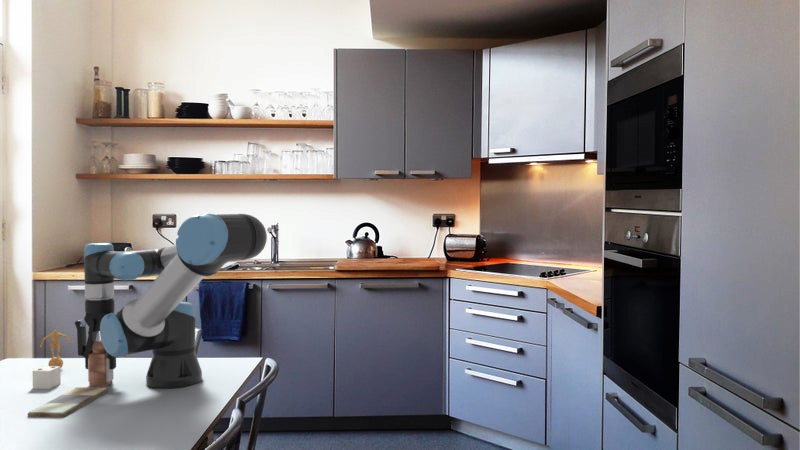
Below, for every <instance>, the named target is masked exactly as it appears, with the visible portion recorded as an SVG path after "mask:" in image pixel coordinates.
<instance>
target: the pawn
mask: <svg viewBox="0 0 800 450" xmlns="http://www.w3.org/2000/svg"><path fill="white" fill-rule="evenodd" d="M92 349H93V353H91V354H89V383H88V386H89V387H88V388H106V387H107V386H109V385H111V384H112V383H113V380H111V381H109V382H106V358H107V357H109V356H108V353H107V351H106V350H105V348H104V346H103V344H102V341H101V339H96V342H94V344H93V346H92Z"/></svg>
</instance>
